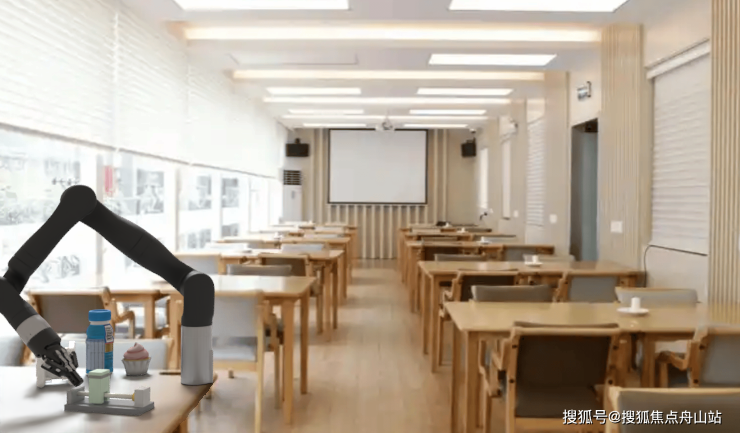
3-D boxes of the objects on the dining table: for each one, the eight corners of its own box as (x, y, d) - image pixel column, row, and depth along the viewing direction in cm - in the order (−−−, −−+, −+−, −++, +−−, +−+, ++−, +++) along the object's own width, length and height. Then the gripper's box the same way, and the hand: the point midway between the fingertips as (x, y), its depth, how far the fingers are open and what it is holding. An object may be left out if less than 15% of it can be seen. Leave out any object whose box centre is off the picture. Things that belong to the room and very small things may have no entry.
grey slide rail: (64, 410, 193) (64, 387, 193) (82, 402, 201) (82, 380, 201) (138, 415, 189) (139, 392, 189) (154, 407, 197) (154, 384, 197)
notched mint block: (88, 402, 194) (88, 372, 194) (97, 399, 198) (97, 368, 198) (101, 403, 193) (101, 372, 193) (109, 399, 197) (110, 369, 197)
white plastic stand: (74, 387, 218) (74, 348, 218) (34, 390, 214) (35, 350, 214) (75, 377, 232) (75, 339, 232) (38, 379, 228) (38, 341, 228)
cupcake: (119, 372, 239) (119, 340, 239) (149, 369, 243) (149, 338, 243) (122, 378, 231) (122, 345, 231) (153, 375, 235) (154, 343, 235)
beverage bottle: (87, 377, 231) (87, 313, 231) (83, 372, 238) (83, 309, 238) (116, 375, 235) (116, 311, 235) (111, 370, 242) (111, 308, 242)
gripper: (31, 330, 192) (74, 380, 190) (62, 322, 205) (103, 369, 203) (13, 349, 193) (55, 400, 191) (45, 341, 206) (85, 388, 204)
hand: (80, 384), depth 197 cm, fingers closed
